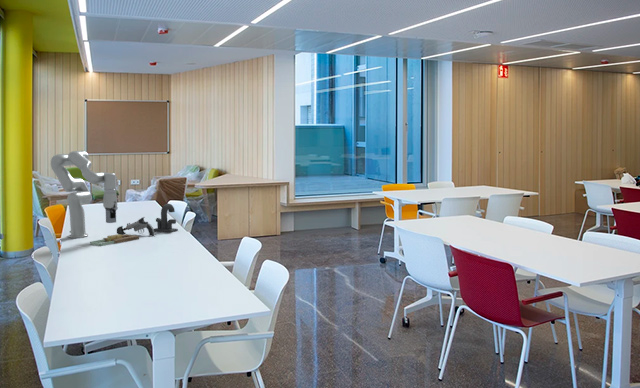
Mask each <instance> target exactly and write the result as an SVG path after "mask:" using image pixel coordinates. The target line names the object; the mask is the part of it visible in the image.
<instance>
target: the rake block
mask: <svg viewBox="0 0 640 388" xmlns="http://www.w3.org/2000/svg"><path fill="white" fill-rule="evenodd" d="M113 208H114V207H113ZM104 209H105V223H106V224H113V223H114V224H115V223H117V211H116V212H115V218H111V213H112V212H111V208H106V207H105V208H104Z"/></svg>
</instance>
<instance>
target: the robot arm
mask: <svg viewBox="0 0 640 388" xmlns="http://www.w3.org/2000/svg"><path fill="white" fill-rule="evenodd" d="M50 159H51V160H50V168H51V170H52V172H53V173H54V174H55V176H56V177H57V179H58V181H59V183H60V185H61V187H62V189H63V190H64V191H65V192H66V193H69V194H68V195H67V197H66V198H67V199H66V201H67V205H68V209H69V221H70V223H69V224H70V230H68V231H69V233H70V234H69V235H68V238H71V239H79V238H87V237H88V236H89V234H88V233H86V216H85V209H84V207H83V205H88V204H90V203H91V202H92V200H93V197H92V194H91V191H90V189H89V187H88V186H87V184H86V182H85V181H84V180H83V178H84V179H85V180H86V181H88V182H89V183H91V184H93V185H98V184H99V185H100V184H104V185H103V187H104V190H103V191H104V193H103V200H102V205H103V208H104V209H105V207H106V208H111V212H112V213H111V218H115V212H116V213H117V210H118V208H119V207H118V198H117V197H118V196H117V175H116V173H114V172H106V171H105V172H104V171H103V172H101V171H100V172H94V171H92V170H91V167H92V164H93V163H92V162H91V160H89V159H90V156H89V154H88V152H87V151H84V150H73V151H71V152H69V153H58V154H55V155H53V156H52V157H51V158H50ZM67 166H69V167H70V166H75V167H76V168H78V169H79V170H80V171H81V174H82V177H83V178H80V177H73V176H72V175H71V172H70V171H69V170H68V169H67V168H66V167H67ZM113 207H114V208H113Z"/></svg>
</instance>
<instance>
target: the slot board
mask: <svg viewBox="0 0 640 388" xmlns="http://www.w3.org/2000/svg"><path fill="white" fill-rule="evenodd" d="M102 239H105V242H108V237H103V238H102ZM136 240H137V241H138V240H140V236H139V235H134V234H127V233H126V234H123V235H122V238H119V239H113V240H112V241H115V243H114V244H120V243H126V242H131V241H136Z"/></svg>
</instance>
